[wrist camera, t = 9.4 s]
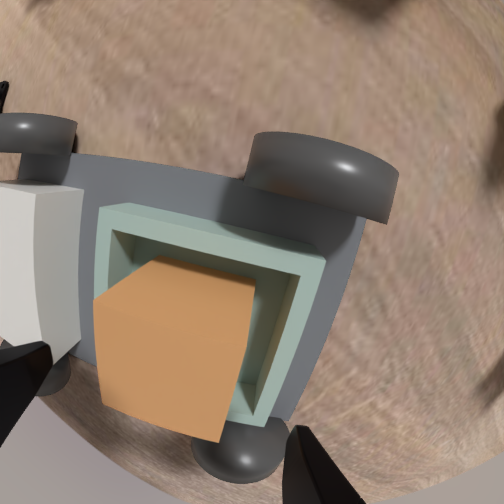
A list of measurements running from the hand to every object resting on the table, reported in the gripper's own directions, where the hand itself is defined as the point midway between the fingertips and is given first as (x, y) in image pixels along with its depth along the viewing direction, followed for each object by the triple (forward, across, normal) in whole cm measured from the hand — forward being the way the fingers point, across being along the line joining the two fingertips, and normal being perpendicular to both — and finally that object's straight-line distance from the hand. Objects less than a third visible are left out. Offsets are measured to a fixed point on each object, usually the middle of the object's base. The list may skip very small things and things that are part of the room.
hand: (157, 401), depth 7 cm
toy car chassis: (+8, +4, 0) cm, 9 cm away
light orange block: (+7, 0, 0) cm, 7 cm away
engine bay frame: (+7, 0, 0) cm, 7 cm away
